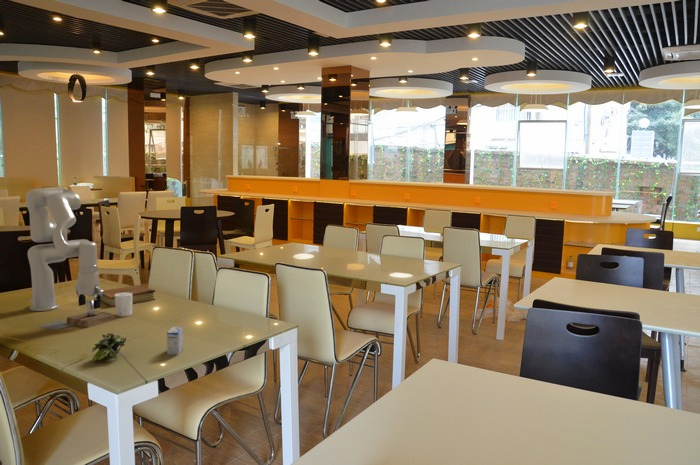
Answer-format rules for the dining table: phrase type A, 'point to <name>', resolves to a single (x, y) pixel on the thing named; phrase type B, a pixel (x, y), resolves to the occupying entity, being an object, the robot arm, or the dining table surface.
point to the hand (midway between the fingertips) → (89, 306)
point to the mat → (56, 325)
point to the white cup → (123, 304)
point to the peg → (90, 308)
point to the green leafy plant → (108, 346)
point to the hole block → (90, 319)
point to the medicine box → (174, 340)
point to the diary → (138, 292)
